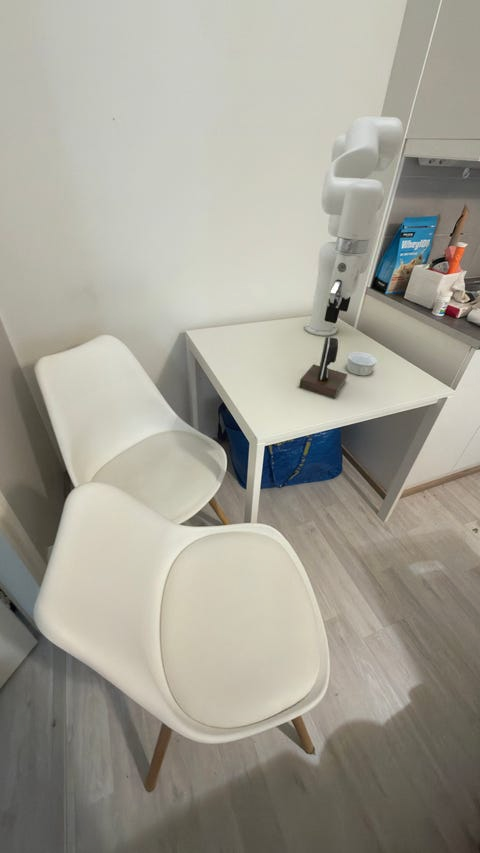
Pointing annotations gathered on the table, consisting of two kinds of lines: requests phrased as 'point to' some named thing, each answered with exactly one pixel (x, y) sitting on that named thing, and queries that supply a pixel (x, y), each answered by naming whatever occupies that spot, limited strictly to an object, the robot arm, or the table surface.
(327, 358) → the battery charger
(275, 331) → the table surface
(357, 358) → the ramekin
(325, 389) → the brown flat block
